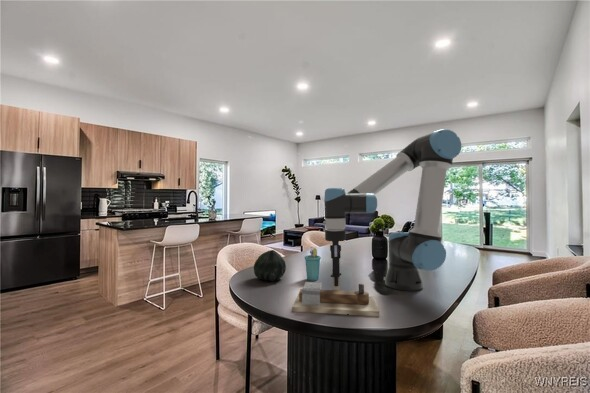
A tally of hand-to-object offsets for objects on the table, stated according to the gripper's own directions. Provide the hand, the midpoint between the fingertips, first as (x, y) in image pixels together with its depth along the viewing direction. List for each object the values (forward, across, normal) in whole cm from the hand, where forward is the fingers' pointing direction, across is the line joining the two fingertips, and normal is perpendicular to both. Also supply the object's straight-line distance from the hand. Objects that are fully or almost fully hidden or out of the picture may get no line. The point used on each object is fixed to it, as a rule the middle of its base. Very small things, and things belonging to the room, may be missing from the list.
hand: (336, 294), depth 102 cm
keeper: (+1, +5, -8) cm, 10 cm away
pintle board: (+3, +5, 0) cm, 5 cm away
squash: (+3, -26, -31) cm, 40 cm away
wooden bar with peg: (+1, +5, -1) cm, 5 cm away
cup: (+3, -28, -11) cm, 30 cm away
